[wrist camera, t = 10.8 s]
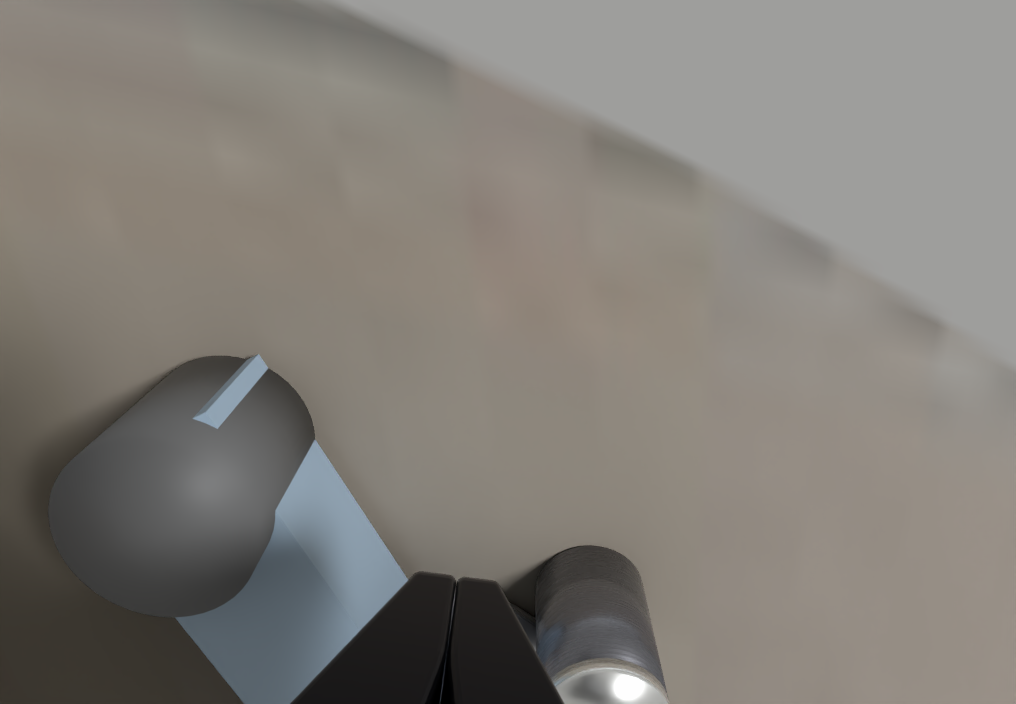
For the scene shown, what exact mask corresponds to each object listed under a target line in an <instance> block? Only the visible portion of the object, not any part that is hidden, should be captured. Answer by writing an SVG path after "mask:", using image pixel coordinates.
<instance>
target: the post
mask: <svg viewBox="0 0 1016 704" xmlns="http://www.w3.org/2000/svg"><path fill="white" fill-rule="evenodd" d="M535 614H536V653H537V654H538V656H539V658H540V660H541V662H542V664H543V665H544V667H545V669H546V671H547V673H548V674H549V676H550V678H551V680H552V682H553V684H554V685H555V687H556V689H557V691H558V693H559V695H560V696H561V698H562V700H563V702H564V704H669V700H668V696H667V691H666V687H665V682H664V678H663V673H662V669H661V664H660V660H659V655H658V651H657V646H656V642H655V637H654V633H653V628H652V624H651V619H650V615H649V611H648V606H647V602H646V597H645V593H644V588H643V584H642V580H641V576H640V574H639V572H638V570H637V569H636V567H635V566H634V565H633V564H632V562H631V561H630V560H628V559H627V558H626V557H625V556H623V555H622V554H620V553H618V552H616V551H614V550H611V549H608V548H604V547H598V546H582V547H576V548H572V549H569V550H566V551H564V552H562V553H560V554H558V555H557V556H555V557H553V558H552V559H551V560H550V561H549V562H548V563H547V564H546V565H545V566H544V567H543V569H542V570H541V572H540V574H539V576H538V578H537V581H536V586H535Z"/></svg>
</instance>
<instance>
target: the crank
mask: <svg viewBox="0 0 1016 704" xmlns="http://www.w3.org/2000/svg"><path fill="white" fill-rule="evenodd" d="M48 517H49V526H50V530H51V534H52V537H53V540H54V542H55V545H56V547H57V549H58V551H59V553H60V555H61V556H62V558H63V560H64V561H65V563H66V564H67V565H68V567H69V568H70V569H71V571H72V572H73V573H74V574H75V575H76V576H77V577H78V578H79V579H80V580H81V581H82V582H83V583H84V584H85V585H87V586H88V587H89V588H90V589H91V590H93V591H94V592H96V593H97V594H99V595H100V596H101V597H103V598H105V599H107V600H109V601H110V602H112V603H114V604H116V605H119V606H121V607H123V608H126V609H128V610H132V611H135V612H138V613H142V614H146V615H151V616H159V617H175V618H176V619H177V621H178V622H179V623H180V624H181V626H182V627H183V628H184V629H185V631H186V632H187V633H188V634H189V636H190V637H191V638H192V639H193V641H194V642H195V643H196V644H197V646H198V647H199V648H200V649H201V651H202V652H203V653H204V654H205V656H206V657H207V658H208V659H209V661H210V662H211V663H212V664H213V666H214V667H215V668H216V669H217V671H218V672H219V673H220V674H221V676H222V677H223V678H224V679H225V680H226V682H227V683H228V684H229V685H230V687H231V688H232V689H233V690H234V692H235V693H236V694H237V695H238V697H239V698H240V699H241V700H242V702H243V703H244V704H290V703H291V702H292V701H293V700H294V699H295V698H296V697H297V696H298V695H299V694H300V693H301V692H302V691H303V690H304V688H305V687H306V686H307V685H308V684H309V683H310V682H311V681H312V680H313V679H314V678H315V677H316V676H317V675H318V674H319V673H320V672H321V671H322V670H323V669H324V668H325V667H326V666H327V664H328V663H329V662H330V661H331V660H332V659H333V658H334V657H335V656H336V655H337V654H338V653H339V652H340V651H341V650H342V649H343V648H344V647H345V646H346V645H347V644H348V643H349V642H350V640H351V639H352V638H353V637H354V636H355V635H356V634H357V633H358V632H359V631H360V630H361V629H362V628H363V627H364V626H365V625H366V624H367V623H368V622H369V621H370V620H371V619H372V618H373V616H374V615H375V614H376V613H377V612H378V611H379V610H380V609H381V608H382V607H383V606H384V605H385V604H386V603H387V602H388V601H389V600H390V599H391V598H392V597H393V596H394V595H395V594H396V592H397V591H398V590H399V589H400V588H401V587H402V586H403V585H404V584H405V583H406V582H407V581H408V579H407V577H406V576H405V574H404V573H403V571H402V570H401V568H400V567H399V565H398V564H397V562H396V561H395V559H394V558H393V556H392V555H391V553H390V552H389V550H388V549H387V547H386V546H385V544H384V543H383V541H382V540H381V538H380V537H379V535H378V534H377V532H376V531H375V529H374V528H373V526H372V525H371V523H370V522H369V520H368V518H367V517H366V515H365V514H364V512H363V511H362V509H361V508H360V506H359V505H358V503H357V502H356V500H355V499H354V497H353V496H352V494H351V493H350V491H349V490H348V488H347V487H346V485H345V484H344V482H343V481H342V479H341V478H340V476H339V475H338V473H337V472H336V470H335V469H334V467H333V466H332V464H331V463H330V461H329V460H328V458H327V457H326V455H325V454H324V452H323V450H322V449H321V447H320V446H319V444H318V443H317V441H316V440H315V433H314V426H313V423H312V419H311V416H310V414H309V411H308V409H307V407H306V405H305V404H304V402H303V400H302V399H301V397H300V396H299V395H298V393H297V392H296V391H295V390H294V388H293V387H292V386H291V385H290V384H289V383H288V382H287V381H285V380H284V379H283V378H282V377H281V376H279V375H278V374H276V373H275V372H273V371H272V370H270V369H268V367H267V366H266V364H265V363H264V361H263V360H262V358H261V357H260V355H259V354H257V355H255V356H253V357H251V358H249V359H242V358H238V357H231V356H210V357H203V358H199V359H195V360H192V361H190V362H188V363H185V364H183V365H181V366H180V367H178V368H176V369H175V370H174V371H172V372H171V373H170V374H169V375H168V376H166V377H165V378H164V379H163V380H162V381H161V382H160V383H158V384H157V385H156V386H155V387H154V388H153V389H152V390H151V391H149V392H148V393H147V394H146V395H145V396H144V397H143V398H141V399H140V400H139V401H138V402H137V403H136V404H135V405H133V406H132V407H131V408H130V409H129V410H128V411H127V412H125V413H124V414H123V415H122V416H121V417H120V418H119V419H118V420H116V421H115V422H114V423H113V424H112V425H111V426H110V427H108V428H107V429H106V430H105V431H104V432H103V433H102V434H100V435H99V436H98V437H97V438H96V439H95V440H94V441H93V442H91V443H90V444H89V445H88V446H87V447H86V448H85V449H83V450H82V451H81V452H80V453H79V454H78V455H77V456H75V457H74V458H73V459H72V460H71V461H70V462H69V463H68V464H67V465H66V466H65V467H64V469H63V470H62V471H61V472H60V474H59V476H58V477H57V479H56V481H55V483H54V486H53V488H52V491H51V494H50V499H49V508H48ZM448 642H449V641H448ZM447 649H448V648H447ZM446 656H447V655H446ZM445 663H446V662H445ZM444 671H445V670H444ZM443 678H444V677H443ZM442 685H443V684H442ZM441 693H442V691H441ZM440 700H441V698H440Z"/></svg>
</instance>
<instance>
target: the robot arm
mask: <svg viewBox="0 0 1016 704" xmlns="http://www.w3.org/2000/svg"><path fill="white" fill-rule="evenodd" d="M455 588H456V592H455ZM454 596H455V599H454ZM453 603H454V606H453ZM452 611H453V613H452ZM451 618H452V620H451ZM450 626H451V627H450ZM449 633H450V634H449ZM448 641H449V642H448ZM447 648H448V649H447ZM446 655H447V656H446ZM445 662H446V663H445ZM444 670H445V671H444ZM443 677H444V678H443ZM442 684H443V685H442ZM441 691H442V693H441ZM440 698H441V700H440ZM290 704H564V702H563V700H562V698H561V696H560V695H559V693H558V691H557V689H556V687H555V685H554V684H553V682H552V680H551V678H550V676H549V674H548V673H547V671H546V669H545V667H544V665H543V664H542V662H541V660H540V658H539V656H538V654H537V653H536V651H535V649H534V647H533V645H532V643H531V642H530V640H529V638H528V636H527V634H526V632H525V631H524V629H523V627H522V625H521V623H520V622H519V620H518V618H517V616H516V614H515V612H514V611H513V609H512V607H511V605H510V603H509V601H508V600H507V598H506V596H505V594H504V592H503V590H502V589H501V587H500V585H499V584H498V583H497V582H496V581H492V580H485V579H477V578H469V577H462V578H460V579H459V580H458V581H457V585H456V580H455V578H454V577H453V576H451V575H446V574H438V573H431V572H423V571H422V572H417V573H415V574H414V575H413V576H412V577H411V578H410V579H409V580H408V581H407V582H406V583H405V584H404V585H403V586H402V587H401V588H400V589H399V590H398V591H397V592H396V594H395V595H394V596H393V597H392V598H391V599H390V600H389V601H388V602H387V603H386V604H385V605H384V606H383V607H382V608H381V609H380V610H379V611H378V612H377V613H376V614H375V615H374V616H373V618H372V619H371V620H370V621H369V622H368V623H367V624H366V625H365V626H364V627H363V628H362V629H361V630H360V631H359V632H358V633H357V634H356V635H355V636H354V637H353V638H352V639H351V640H350V642H349V643H348V644H347V645H346V646H345V647H344V648H343V649H342V650H341V651H340V652H339V653H338V654H337V655H336V656H335V657H334V658H333V659H332V660H331V661H330V662H329V663H328V664H327V666H326V667H325V668H324V669H323V670H322V671H321V672H320V673H319V674H318V675H317V676H316V677H315V678H314V679H313V680H312V681H311V682H310V683H309V684H308V685H307V686H306V687H305V688H304V690H303V691H302V692H301V693H300V694H299V695H298V696H297V697H296V698H295V699H294V700H293V701H292V702H291V703H290Z"/></svg>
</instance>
